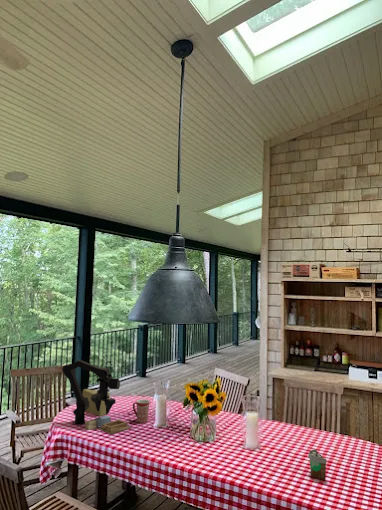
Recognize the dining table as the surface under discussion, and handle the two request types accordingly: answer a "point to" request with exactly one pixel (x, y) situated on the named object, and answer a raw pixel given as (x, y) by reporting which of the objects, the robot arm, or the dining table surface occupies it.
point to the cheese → (92, 405)
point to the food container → (317, 465)
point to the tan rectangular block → (90, 424)
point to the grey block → (102, 420)
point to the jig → (114, 427)
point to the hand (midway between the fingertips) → (102, 412)
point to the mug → (141, 410)
